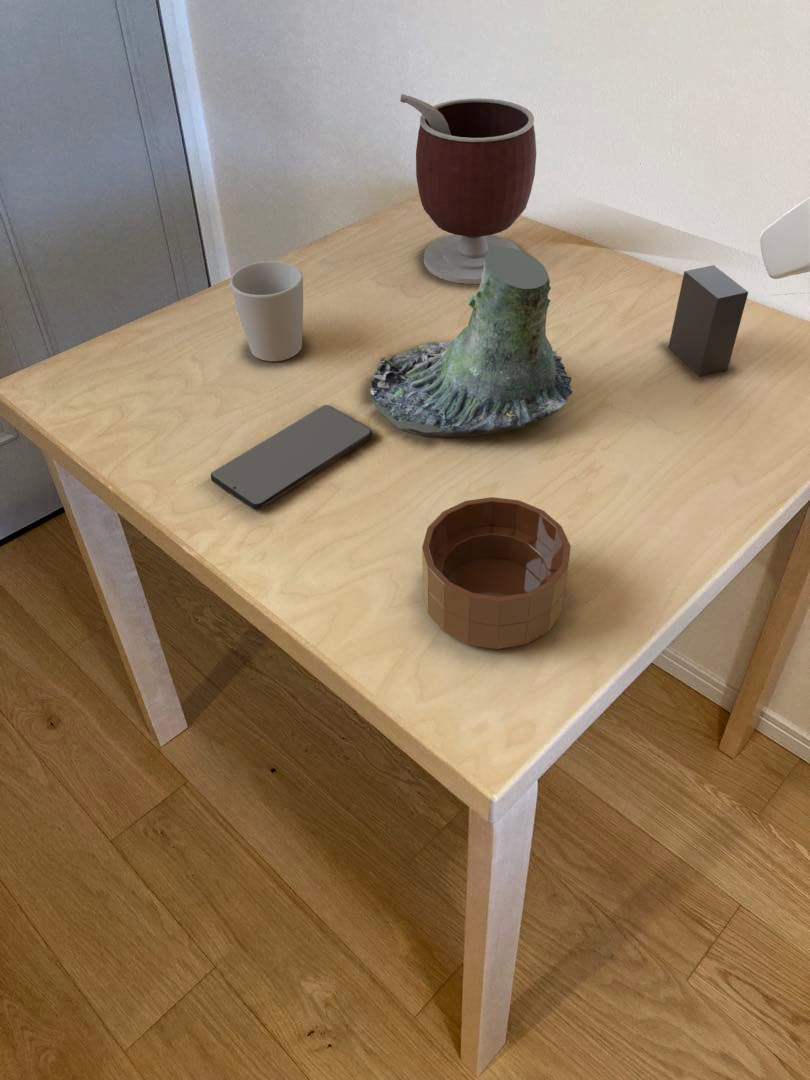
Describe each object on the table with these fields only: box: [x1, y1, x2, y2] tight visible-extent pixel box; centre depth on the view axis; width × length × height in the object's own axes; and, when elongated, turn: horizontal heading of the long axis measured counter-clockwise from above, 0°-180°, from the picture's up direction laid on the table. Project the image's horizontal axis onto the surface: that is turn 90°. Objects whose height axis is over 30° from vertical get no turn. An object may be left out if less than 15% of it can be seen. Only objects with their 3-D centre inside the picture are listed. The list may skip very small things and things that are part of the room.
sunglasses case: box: [668, 264, 749, 377], centre depth 92 cm, size 4×6×9 cm, turn 20°
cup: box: [229, 260, 304, 362], centre depth 97 cm, size 8×10×8 cm
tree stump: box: [369, 247, 573, 438], centre depth 87 cm, size 18×20×18 cm
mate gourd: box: [399, 93, 537, 285], centre depth 105 cm, size 16×14×20 cm
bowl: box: [421, 496, 572, 650], centre depth 70 cm, size 11×11×6 cm
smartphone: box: [210, 404, 373, 511], centre depth 85 cm, size 7×1×15 cm
